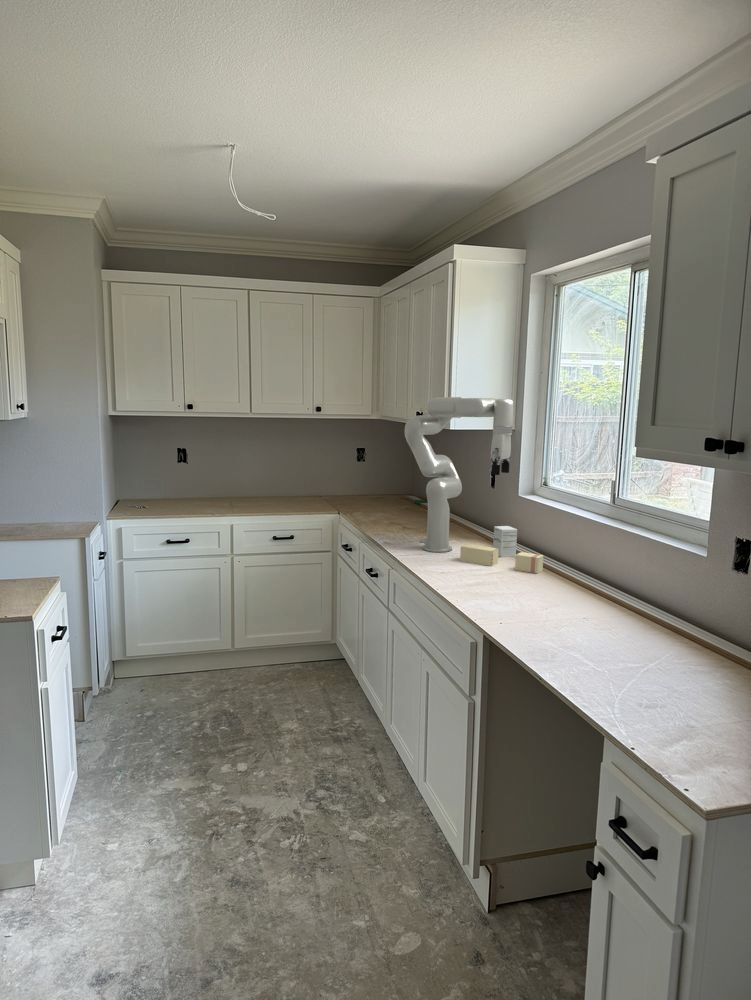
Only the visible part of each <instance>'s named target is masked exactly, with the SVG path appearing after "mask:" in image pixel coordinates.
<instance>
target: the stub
mask: <svg viewBox="0 0 751 1000" xmlns="http://www.w3.org/2000/svg"><path fill="white" fill-rule="evenodd" d="M514 563H515V564H514V565H515V566H514V570H515V571H521V572H528V573H532V574H539V573H541V572H543V569H544V555H543V554H538V553H530V552H522V551H521V552H519V553H516V557H515V562H514Z"/></svg>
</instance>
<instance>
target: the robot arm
mask: <svg viewBox="0 0 751 1000" xmlns="http://www.w3.org/2000/svg"><path fill="white" fill-rule="evenodd" d="M426 411H427V413H428V415H423V414H422V415H414V416H412V417H409V419H407V421H406V422H405V426H404V437H405V439H406V442H407V444H408V446H409V448H410V450H411V452H412V454H413V456H414V458H415V461H416V464H417V465H418V468H419V470H420V472H421V473H422V475H423V476H424V477H426V478H432V479H431V480H429V481H428V482H427V484H426V488H425V493H426V499H427V523H426V538H425V537H420V538H419V541H418V542H419V543H421V544H424V545H423V546H422V549H423V550H424V551H426V552H431V553H448V552H452V550H453V546H451V545H449V543H450V541H449V540H450V513H451V510H450V504H449V502H448V499H452V498H453V499H454V498H456V497H458V496H460V495H461V493H462V492H463V491H462V490H463V484H462V480H461V478H460V477H459V476H460V475H459V474H458V472H457V470H456V468H455V466H454V463H453V460H451V458H450V457H448V456H447V455H444V454H436V453H435V451H434V449H433V447H432V445H431V443H430V442H429V440H428V439H426V437H425V436H426V435H427V436H429V435H437V434H438V433H439V432H441V431H442V430H443V429H444V428H445V427H446V426H447V425H448V424H449V422H450V421H451V420H452V419H453V418H454V419H455V418H456V419H460V418H492V419H493V420H492V421H493V422H492V439H491V445H490V446H491V447H490V459H491V475H493V476H500V474H501V473H503V474H509V473H510V465H511V464H510V462H511V455H512V442H511V441H512V438H511V436H512V435H513V423H514V422H513V421H514V400H512V399H509V398H507V399H506V398H498V399H497V398H492V397H491V398H489V397H471V398H470V397H468V398H467V397H466V398H464V397H461V396H460V397H459V396H455V397H454V396H452V397H451V396H449V397H447V396H446V397H443V396H440V397H433V398H431V399H429V400H428V401H427V404H426ZM424 435H425V436H424ZM501 461H502V462H501ZM500 463H501V464H500Z"/></svg>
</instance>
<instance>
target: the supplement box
mask: <svg viewBox="0 0 751 1000" xmlns="http://www.w3.org/2000/svg"><path fill="white" fill-rule="evenodd" d="M517 540H518V529H517V528H515V527H512V526H510V525H501V526H500V525H499V526H498V525H497V526H495V525H494V527H493V541H492V542H493V543H492V548H497V549H499V551H498V558H514V557H515V558H516V554H517V544H518V543H517V542H518V541H517Z"/></svg>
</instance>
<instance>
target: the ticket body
mask: <svg viewBox="0 0 751 1000" xmlns="http://www.w3.org/2000/svg"><path fill="white" fill-rule="evenodd" d="M459 551H460V556H459V561H460V562H464V563H470V564H477V565H484V566H489V567H494V566H496V565H497V564H499V556H498V551H499V549H497V548H493V547H489V546H482V545H477V544H470V543H469V544H468V543H466V544H464V545H461V546H460V550H459Z"/></svg>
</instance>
